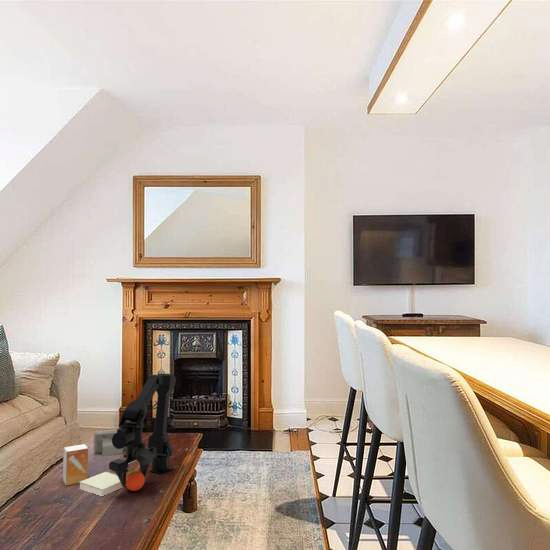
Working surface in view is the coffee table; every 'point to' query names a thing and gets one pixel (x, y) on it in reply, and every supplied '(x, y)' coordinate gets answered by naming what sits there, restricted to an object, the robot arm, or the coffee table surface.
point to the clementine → (135, 480)
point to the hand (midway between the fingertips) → (133, 482)
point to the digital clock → (105, 443)
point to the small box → (75, 464)
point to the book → (101, 484)
